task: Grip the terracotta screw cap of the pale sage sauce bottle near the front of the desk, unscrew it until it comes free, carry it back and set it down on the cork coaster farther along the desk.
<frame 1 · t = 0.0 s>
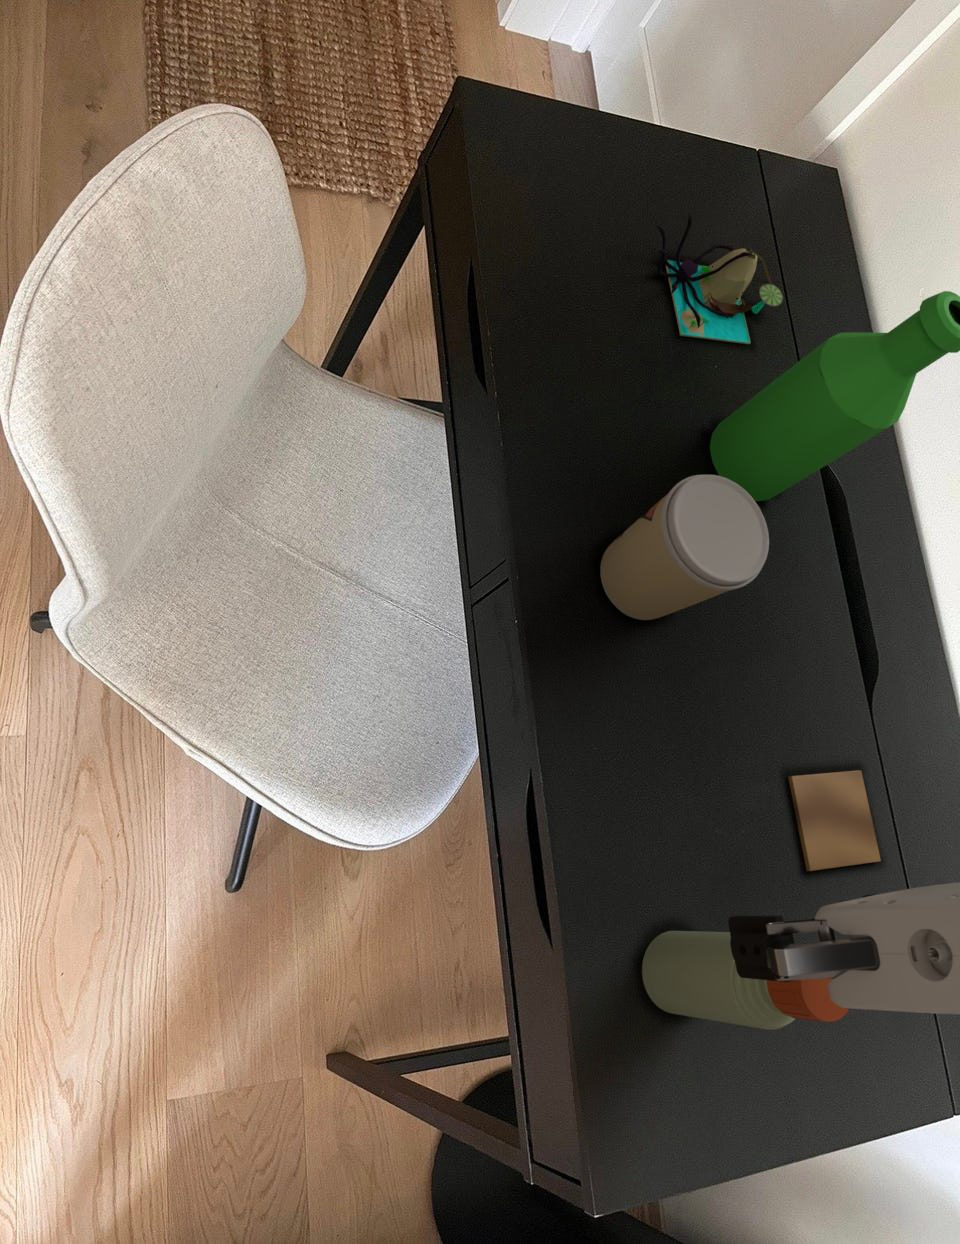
hand: (805, 934, 53), 20 cm above the table, tool pointing down, fingers open, 9 cm apart
diorama: (698, 291, 94), on the table
coaster: (832, 819, 81), on the table
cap: (822, 985, 57), point 16 cm above the table, screwed on, not yet turned
coffee cup: (637, 579, 80), on the table
sauce bottle: (675, 971, 71), on the table
bottle: (741, 463, 89), on the table
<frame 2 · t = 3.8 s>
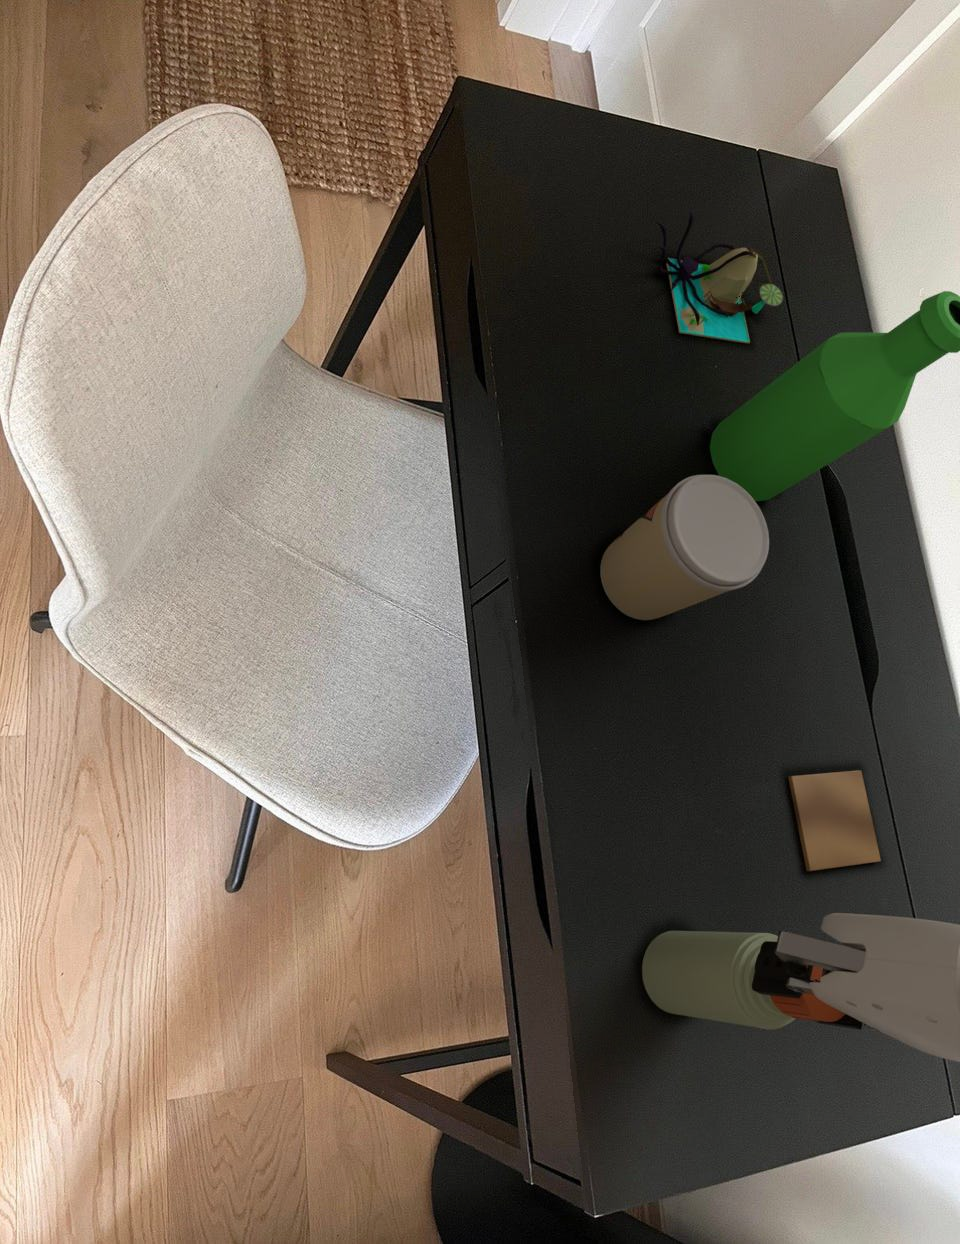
hand: (790, 982, 59), 13 cm above the table, tool pointing down, fingers closed on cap, 4 cm apart
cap: (822, 985, 57), point 16 cm above the table, screwed on, not yet turned, touching gripper
everything else where it was.
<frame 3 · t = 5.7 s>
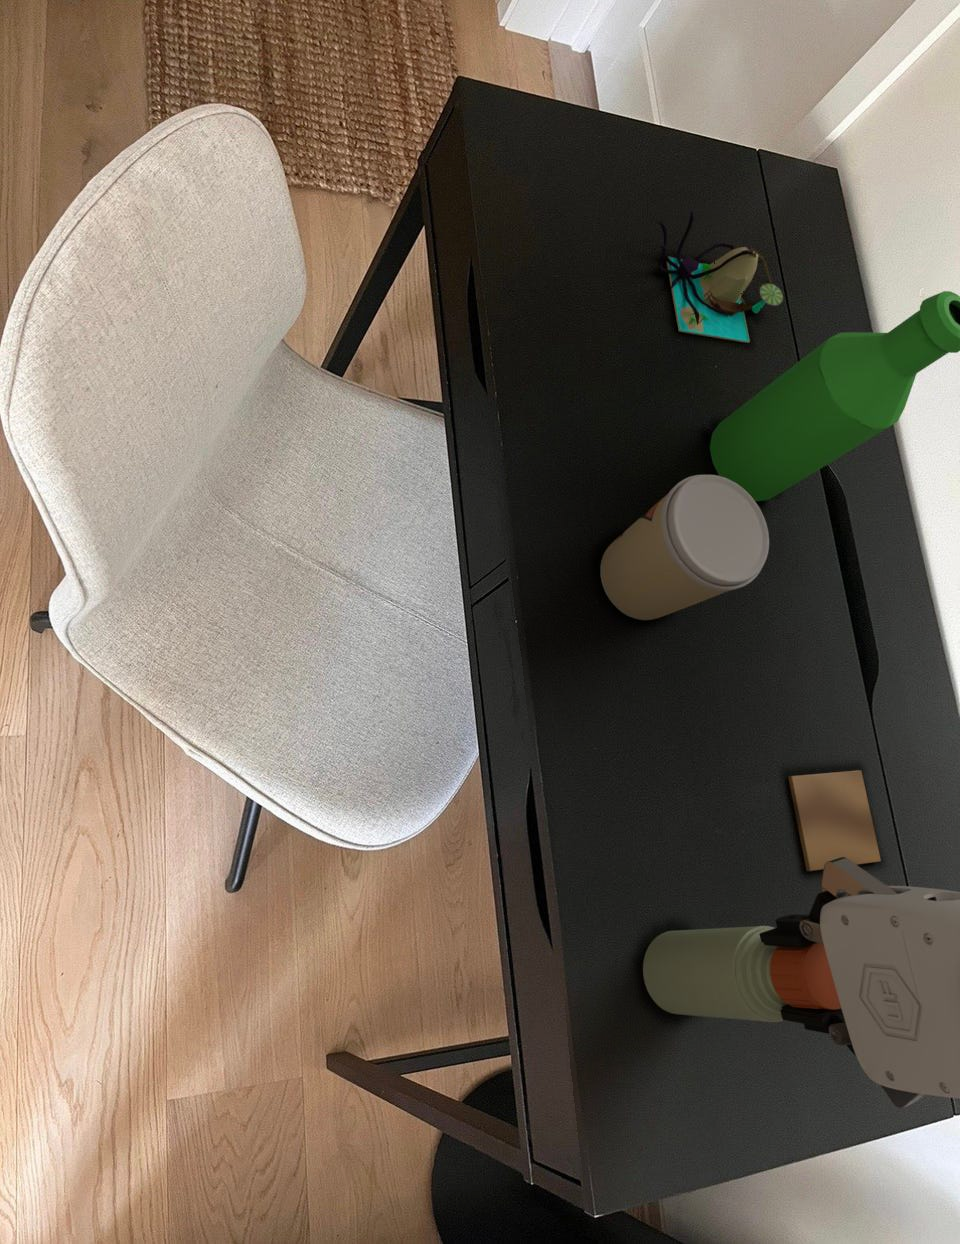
hand: (789, 969, 60), 13 cm above the table, tool pointing down, fingers closed on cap, 4 cm apart
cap: (825, 974, 57), point 16 cm above the table, turned 128° so far, risen 0.1 cm, still on its thread, touching gripper
sauce bottle: (676, 971, 71), on the table, touching gripper
everything else where it was.
when the fingers open (13 cm above the table, at t = 9.8 s): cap stays where it is, point 16 cm above the table.
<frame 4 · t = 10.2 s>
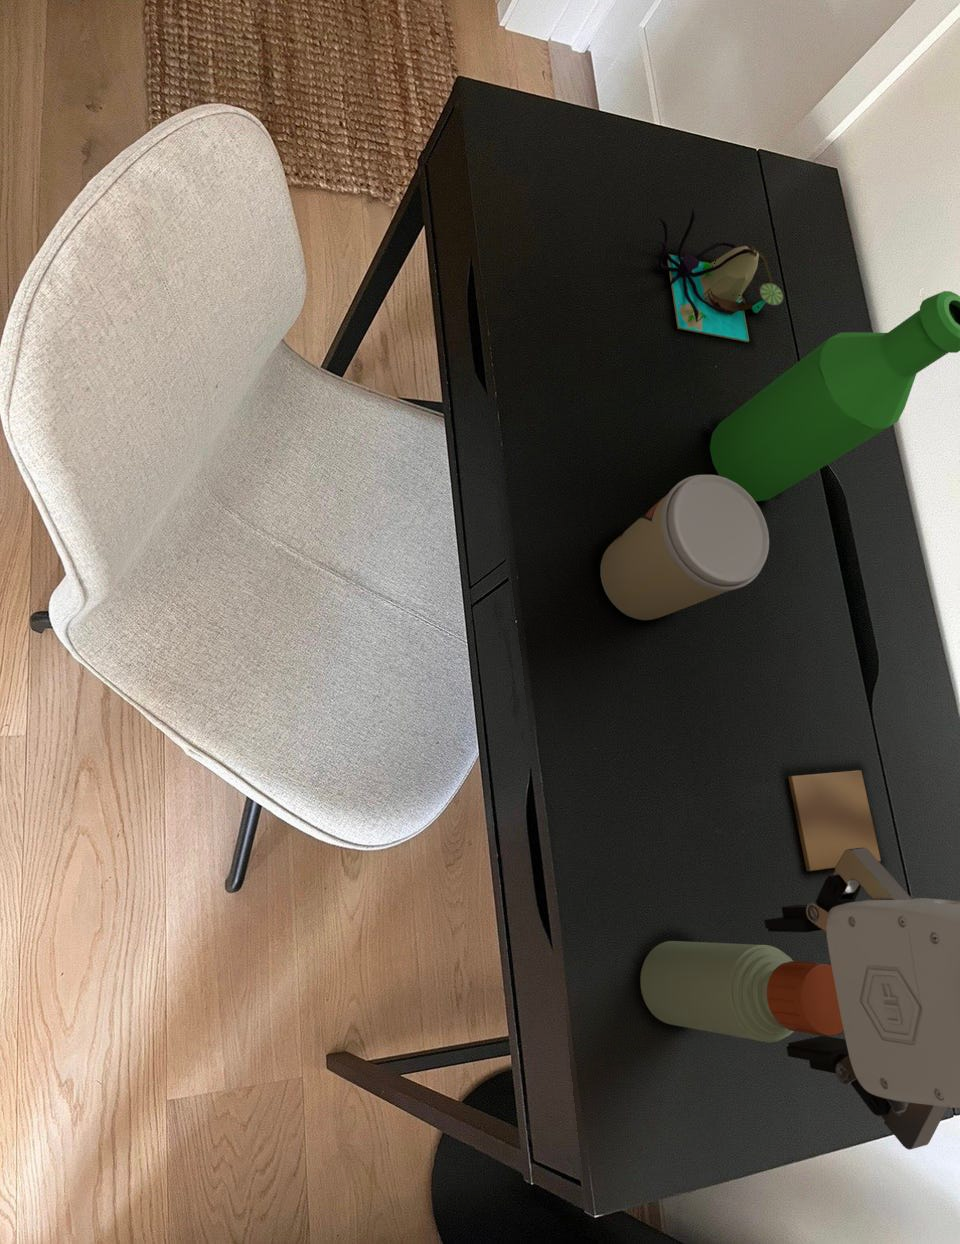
hand: (794, 983, 59), 14 cm above the table, tool pointing down, fingers open, 6 cm apart
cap: (823, 999, 56), point 16 cm above the table, turned 128° so far, risen 0.1 cm, still on its thread
sauce bottle: (673, 982, 71), on the table
everything else where it was.
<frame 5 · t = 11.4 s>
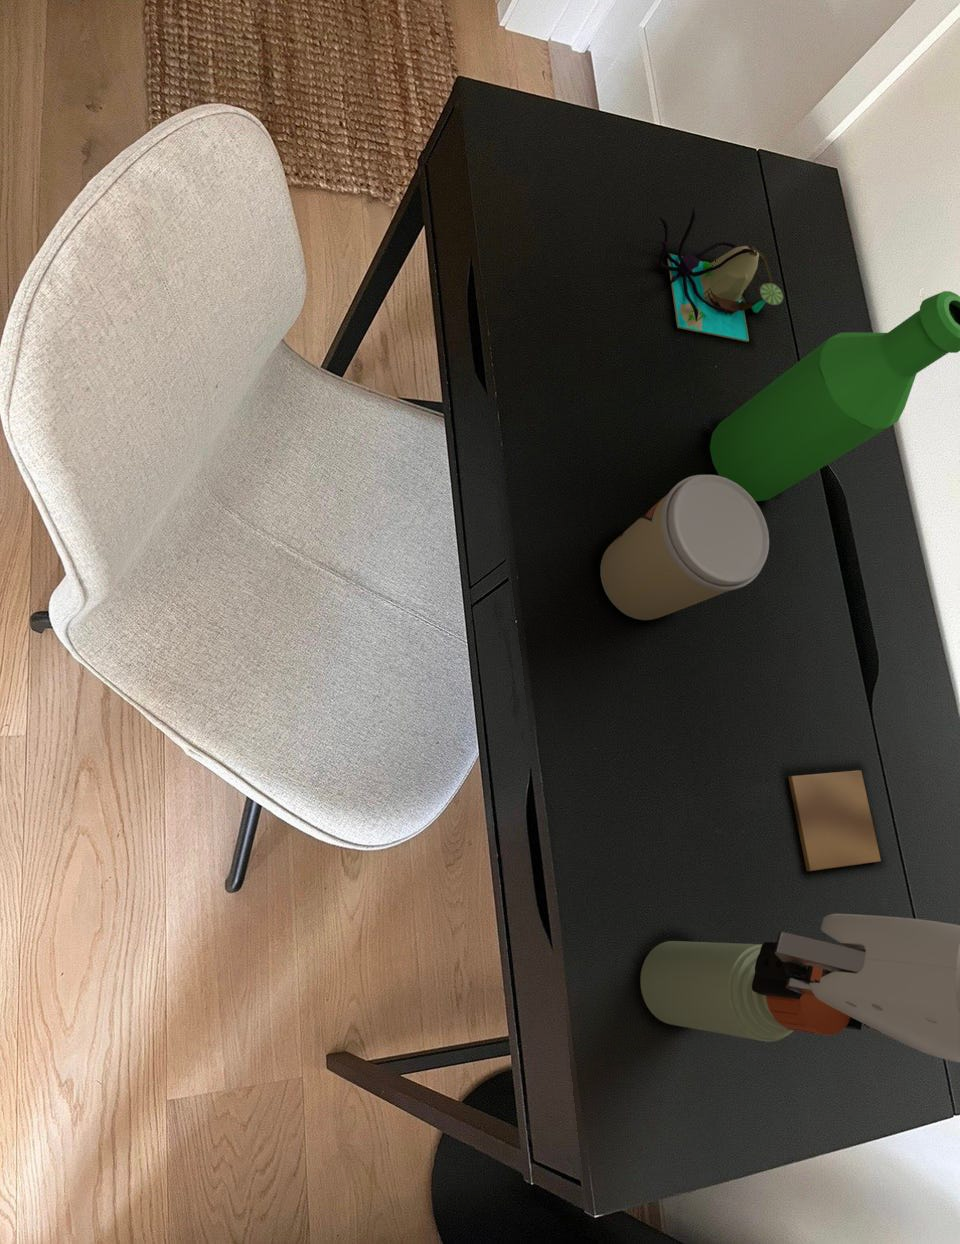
hand: (790, 982, 60), 13 cm above the table, tool pointing down, fingers closed on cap, 4 cm apart
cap: (822, 998, 56), point 16 cm above the table, turned 128° so far, risen 0.1 cm, still on its thread, touching gripper
everything else where it was.
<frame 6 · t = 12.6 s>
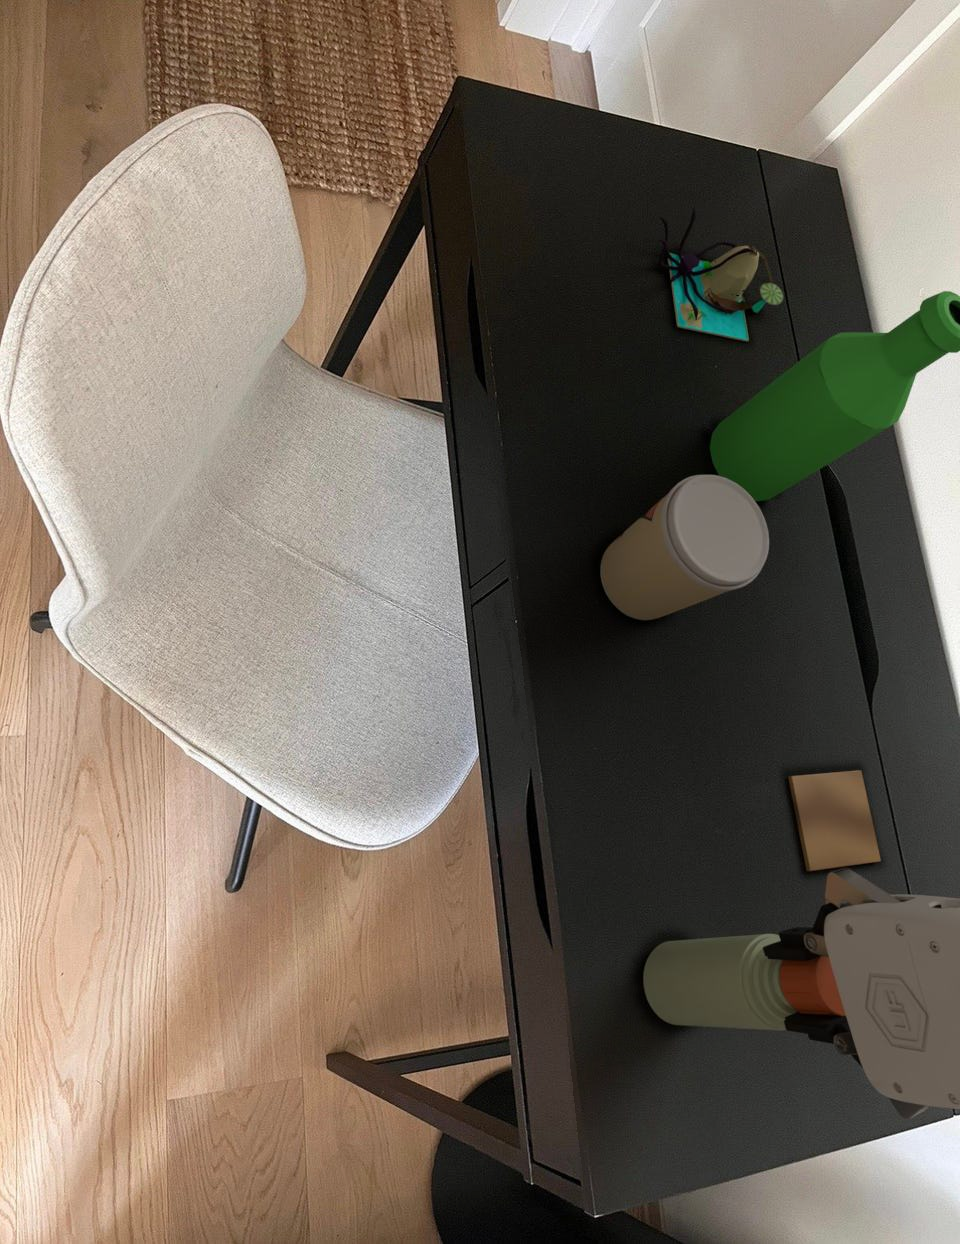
hand: (792, 981, 59), 13 cm above the table, tool pointing down, fingers closed on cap, 3 cm apart
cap: (836, 980, 57), point 17 cm above the table, turned 257° so far, risen 0.3 cm, still on its thread, touching gripper
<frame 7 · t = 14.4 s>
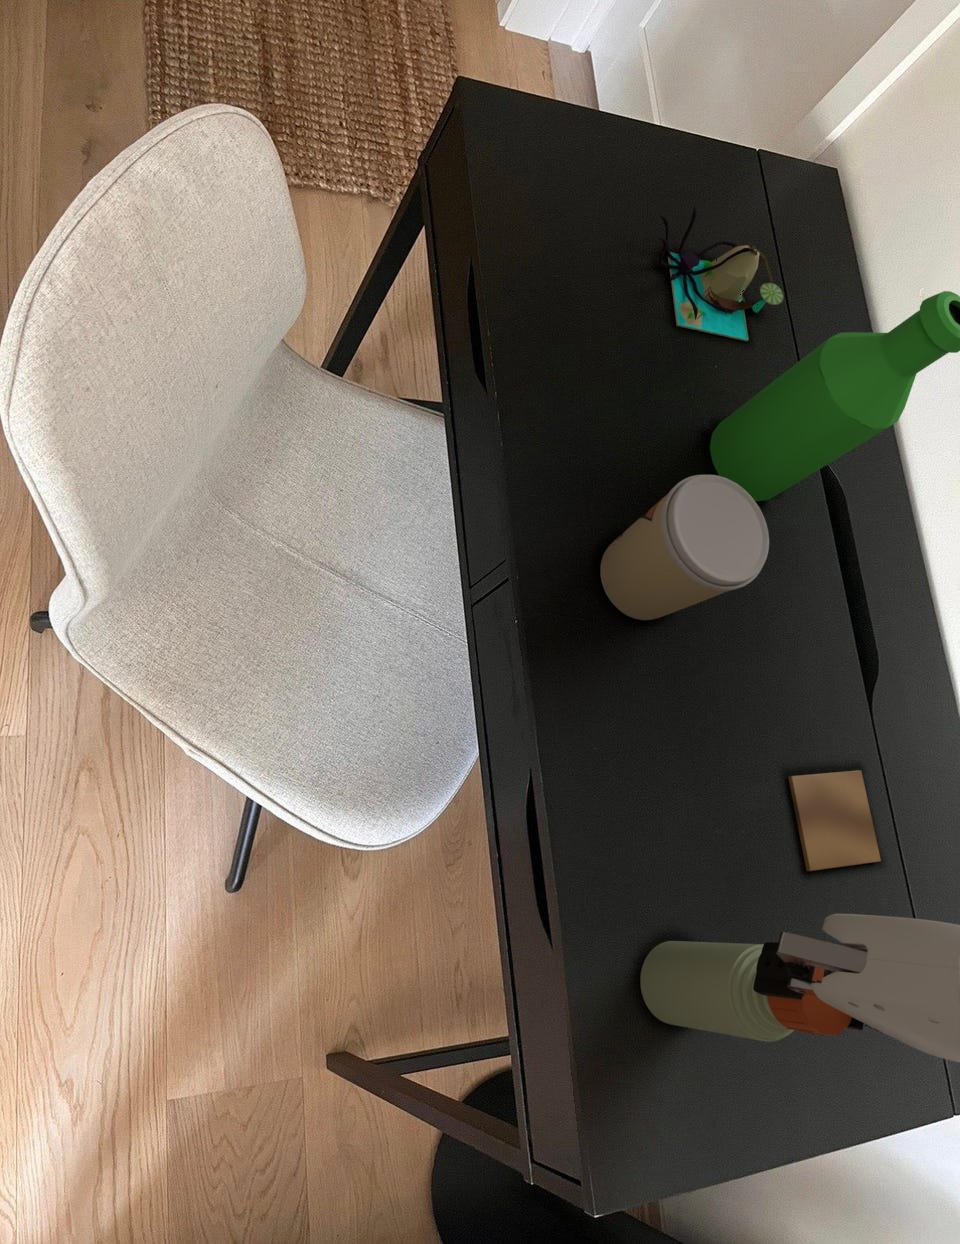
hand: (792, 982, 59), 13 cm above the table, tool pointing down, fingers closed on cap, 4 cm apart
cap: (823, 998, 56), point 16 cm above the table, turned 257° so far, risen 0.3 cm, still on its thread, touching gripper
when the fingers open (3 cm above the table, at t = 23.9 s): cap drops 2 cm, resting on coaster.
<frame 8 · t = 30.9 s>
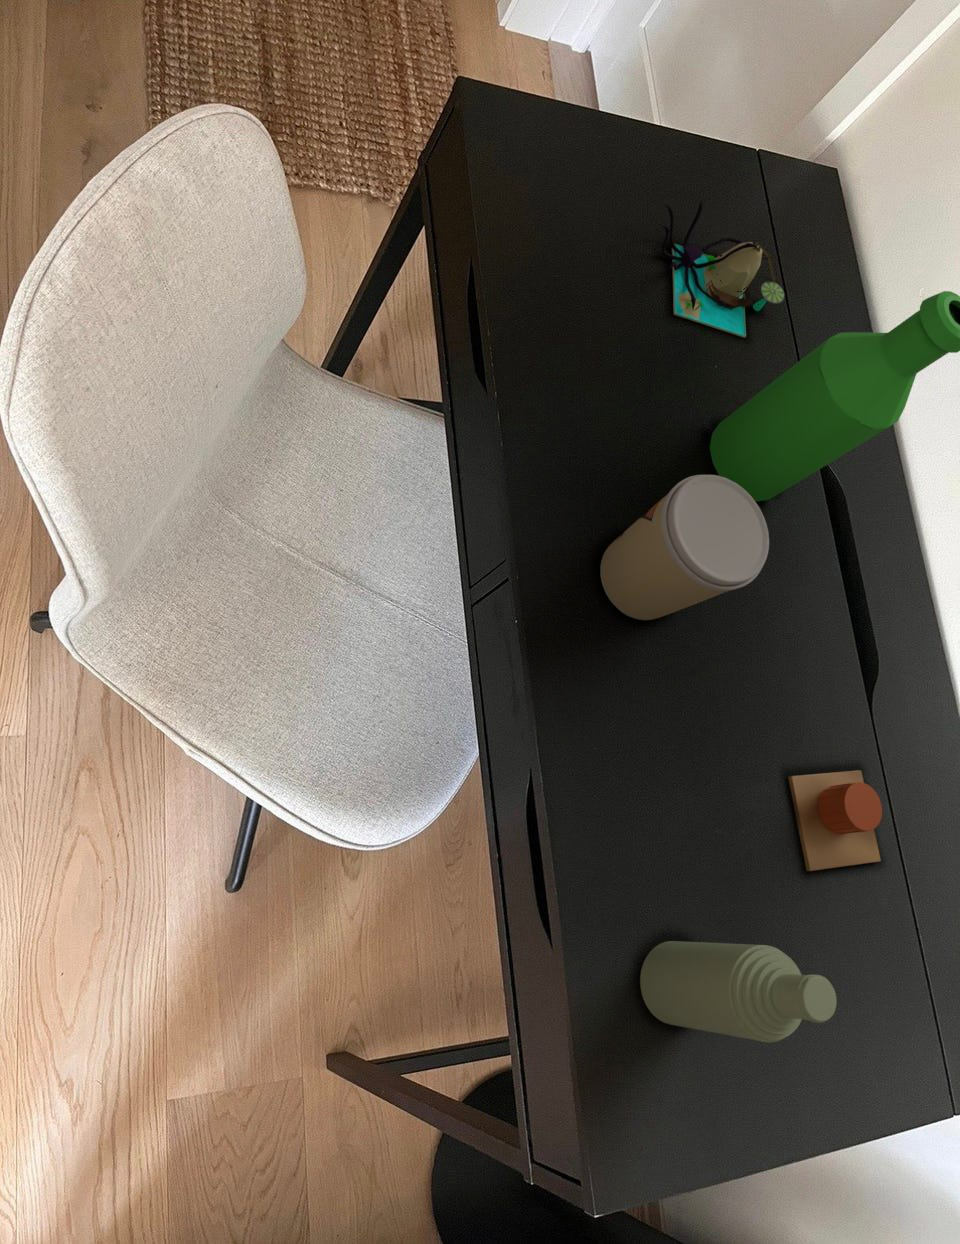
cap: (860, 806, 78), point 3 cm above the table, off its thread, touching coaster
at the end: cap came off its thread; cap inside the target area on the coaster (0.7 cm from its centre), point 3.3 cm above the coaster's base; the gripper is holding nothing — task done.
